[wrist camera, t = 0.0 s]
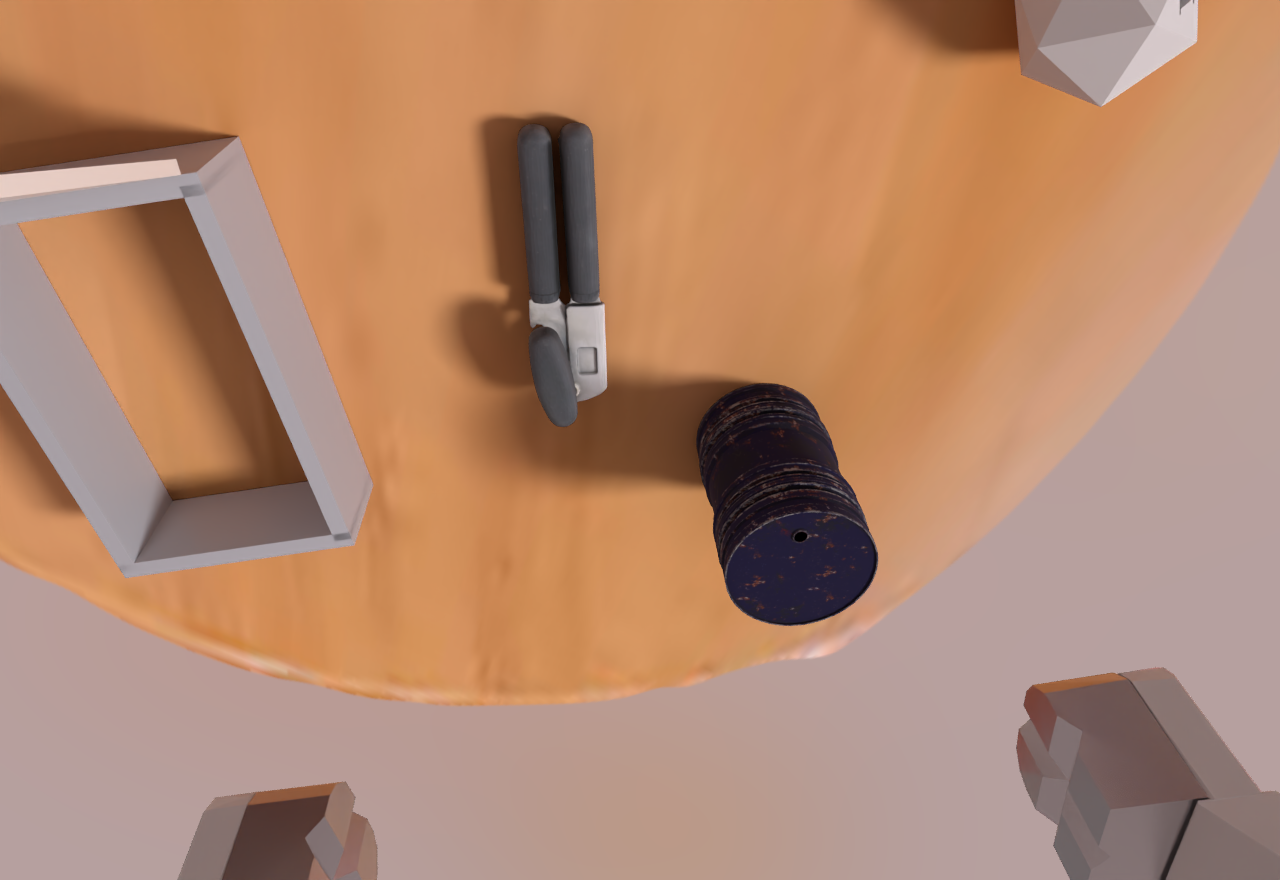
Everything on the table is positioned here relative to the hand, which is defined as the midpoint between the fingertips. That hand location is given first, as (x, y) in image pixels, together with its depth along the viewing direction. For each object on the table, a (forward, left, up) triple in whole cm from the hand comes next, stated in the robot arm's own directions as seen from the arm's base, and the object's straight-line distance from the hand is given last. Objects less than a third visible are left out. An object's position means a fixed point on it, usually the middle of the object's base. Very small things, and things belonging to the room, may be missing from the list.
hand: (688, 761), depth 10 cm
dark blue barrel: (+29, +8, -48) cm, 57 cm away
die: (+1, +27, -48) cm, 55 cm away
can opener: (+13, -4, -48) cm, 50 cm away
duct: (+15, -30, -48) cm, 58 cm away
